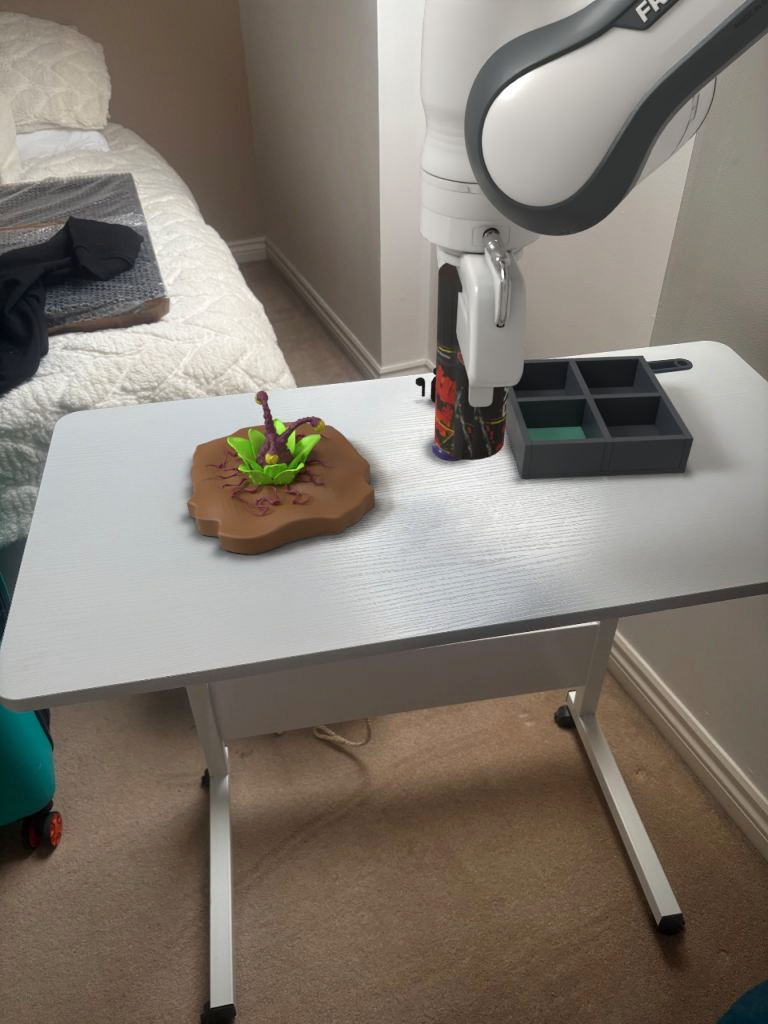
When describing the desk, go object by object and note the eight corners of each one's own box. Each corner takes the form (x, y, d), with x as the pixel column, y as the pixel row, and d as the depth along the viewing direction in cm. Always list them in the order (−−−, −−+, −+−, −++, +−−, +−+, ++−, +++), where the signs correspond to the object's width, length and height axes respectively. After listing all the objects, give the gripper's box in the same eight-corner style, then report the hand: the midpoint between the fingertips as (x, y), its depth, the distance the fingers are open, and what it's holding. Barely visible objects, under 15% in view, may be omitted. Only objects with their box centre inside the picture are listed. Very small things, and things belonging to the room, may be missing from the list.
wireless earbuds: (469, 396, 105) (471, 361, 102) (472, 407, 103) (475, 371, 100) (414, 400, 105) (415, 365, 102) (417, 411, 103) (418, 375, 100)
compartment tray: (636, 387, 107) (643, 355, 104) (684, 472, 93) (693, 438, 90) (494, 392, 106) (497, 360, 103) (521, 479, 92) (525, 445, 89)
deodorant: (507, 460, 69) (522, 288, 59) (435, 460, 69) (439, 289, 59) (500, 421, 73) (514, 256, 64) (433, 421, 73) (437, 256, 64)
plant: (338, 424, 101) (334, 341, 93) (395, 521, 86) (395, 431, 79) (172, 458, 95) (154, 372, 88) (204, 567, 81) (185, 476, 74)
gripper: (558, 262, 51) (536, 449, 59) (502, 162, 66) (491, 321, 75) (455, 267, 50) (449, 453, 59) (423, 165, 66) (422, 324, 75)
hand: (472, 378), depth 67 cm, fingers closed on deodorant, 6 cm apart
